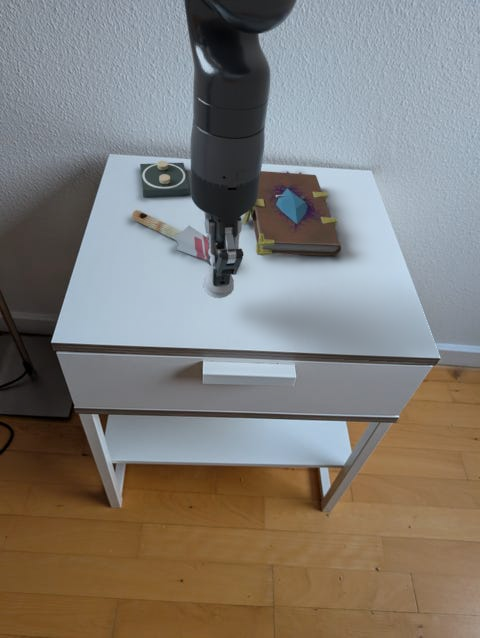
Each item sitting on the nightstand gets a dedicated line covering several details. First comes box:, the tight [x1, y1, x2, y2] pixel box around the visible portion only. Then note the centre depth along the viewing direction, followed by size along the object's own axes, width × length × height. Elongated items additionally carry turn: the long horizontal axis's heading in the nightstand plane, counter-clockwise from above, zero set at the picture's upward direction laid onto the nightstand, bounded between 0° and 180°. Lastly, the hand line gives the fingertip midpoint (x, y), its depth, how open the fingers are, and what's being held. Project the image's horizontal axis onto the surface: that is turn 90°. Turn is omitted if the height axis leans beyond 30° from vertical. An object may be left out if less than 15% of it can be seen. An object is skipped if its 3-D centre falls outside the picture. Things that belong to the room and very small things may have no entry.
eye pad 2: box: [159, 174, 170, 184], centre depth 79 cm, size 2×2×1 cm
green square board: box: [139, 162, 190, 198], centre depth 81 cm, size 8×8×2 cm
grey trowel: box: [131, 209, 209, 261], centre depth 71 cm, size 4×3×20 cm
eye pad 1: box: [157, 160, 169, 170], centre depth 82 cm, size 2×2×1 cm
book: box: [242, 170, 342, 257], centre depth 78 cm, size 16×25×5 cm, turn 6°
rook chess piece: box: [202, 243, 235, 299], centre depth 58 cm, size 4×4×8 cm
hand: (218, 273), depth 59 cm, fingers closed on rook chess piece, 3 cm apart
